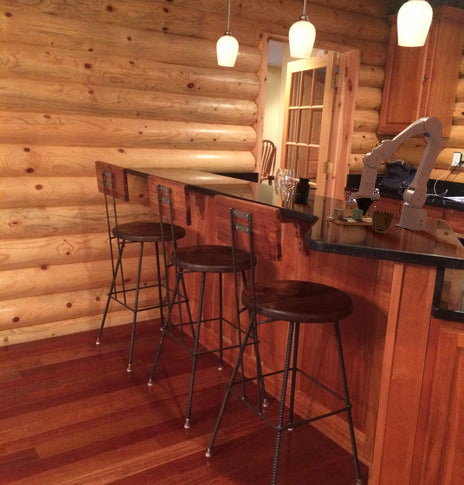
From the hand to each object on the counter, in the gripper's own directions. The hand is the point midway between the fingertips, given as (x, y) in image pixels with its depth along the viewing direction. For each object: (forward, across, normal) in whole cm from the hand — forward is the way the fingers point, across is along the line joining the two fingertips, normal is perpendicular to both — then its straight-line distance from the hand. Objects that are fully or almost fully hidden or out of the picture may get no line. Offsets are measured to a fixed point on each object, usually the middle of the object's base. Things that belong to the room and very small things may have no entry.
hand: (361, 216), depth 209 cm
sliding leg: (+1, +3, +2) cm, 3 cm away
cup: (+3, +10, +19) cm, 22 cm away
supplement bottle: (+3, -3, -42) cm, 42 cm away
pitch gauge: (+2, +3, 0) cm, 4 cm away
